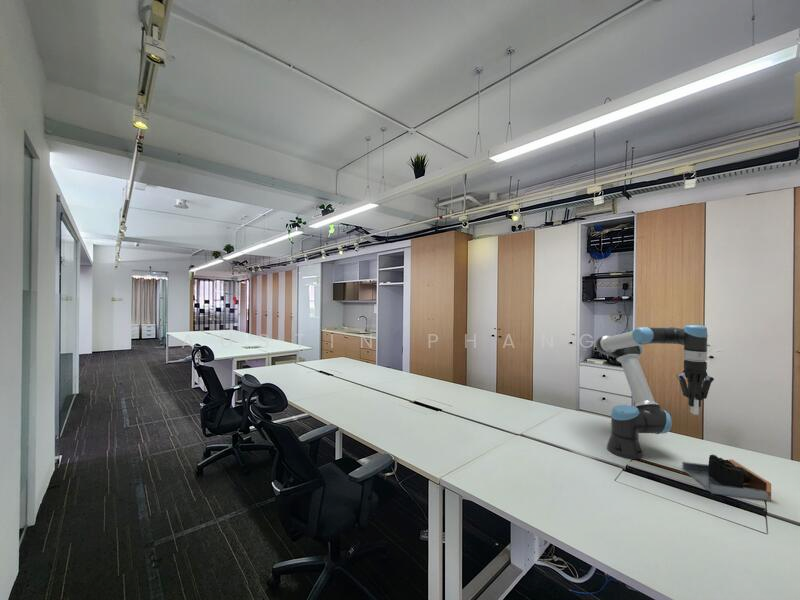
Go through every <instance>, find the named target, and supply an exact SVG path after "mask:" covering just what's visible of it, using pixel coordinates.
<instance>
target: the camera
mask: <svg viewBox="0 0 800 600" xmlns="http://www.w3.org/2000/svg"><path fill="white" fill-rule="evenodd" d="M708 465H709V472H708V474H709V476H711V477H712V478H714V479H715V480H717V481H718V482H720V483H721V484H723V485H727V486H735V487H743V483H748V482H749V481H750V477H749V474H748V472H747V471H746V470H745V469H744V468H742V467H737V466H735V465H734V464H732V463H731V462H730V461H729V459H724V458H722V457H718V456H717V455H716V454H710V455H709V457H708Z"/></svg>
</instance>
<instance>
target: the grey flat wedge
mask: <svg viewBox="0 0 800 600" xmlns="http://www.w3.org/2000/svg"><path fill="white" fill-rule="evenodd" d="M728 460H729V461H730V462H731V463H732V464H734V465H735V466H737V467H742V468H744V469H745V470H746V471H747V472H748V474H749V477H750V481H749V482H748V483H743V487H735V486H727V485H723V484H721V483H720V482H718V481H717V480H715V479H714V478H712V477H711V476H709V474H708V472H709V464H707V463H706V464H704V463H696V462H686V461H682V465H681V467H682V468H681V469H682V471H684V472H685V473H686V474H687V475H689V476H690V477H691V478H692V479H694V480H695V481H696V482H697V483H699V484H700V485H701V486H702V487H704V488H705V489H706V490H707V491H708V492H710V493H711V494H712V495H720V496H729V497H736V498H745V499H750V498H754V499H753V500H758V499H761V500H760V501H767V502H768V501H769V502H772V483H771V482H770V481H768V480H766V479H765V478H763V477H762V476H760V475H758V474H756V473H755V472H753V471H752V470H750V469H749V468H747V467H745V466H743V465H742V464H740V463H739V462H737V461H736V460H734V459H730V458H729V459H728Z"/></svg>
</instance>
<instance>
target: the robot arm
mask: <svg viewBox="0 0 800 600" xmlns="http://www.w3.org/2000/svg"><path fill="white" fill-rule="evenodd" d="M708 336H709V335H708V328H707V327H706V326H705V325H696V324H694V325H693V324H686V325H684V326H683V328H682V327H681V328H680V327H675V326H672V327H671V326H667V327H646V326H642V327H636V328H634V330H632V331H628V332H623V333H619V334H616V335H603V336H600V337H598V338H597V339H596V342H595V348H596V350H597V351H598V352H599V353H600V354H602V355H604V356H609V357H611V356H612V357H615V359H616V361H617V362H619V363H621V366H622V370H623V374H624V375H625V379H626V381H627V384H628V386H629V390H630V392H631V395H632V398H633V400H634V403H635V405H634V406H633V405H627V404H619V405H615V406H613V407H612V408H611V415H610V416H611V420H610V421H611V427H610V428H611V429H610V432H611V434H610V436H609V439H608V442H607V443H606V444H607V445H606V449H607V451H608V452H609V453H611V454H614V455H616V456H619V457H620V458H621V457H622V458H625V459H631V460H639V459H640V460H641V459H642V458H643V456H644V453H643V449H642V446H641V444H640V441H639V436H640V435H639V434H655V435H660V434H667V433H668V432H669V431H671V427H672V425H673V422H672V421H673V420H672V417H671V415H670V413H669V412H667V411H666V410H665V409H662V407H661V404H660V403H657V402H656V401H655V399H654V395H653V394H652V391H651V388H650V386H649V383H648V381H647V378H646V375H645V373H644V371H643V368H642V365H641V363H640V361H639V360H640V358H641V354H642V352H643V347H642V346H643V345H644V346H645V345H649V344H651V345H652V344H659V345H660V344H662V345H663V344H665V345H667V344H668V345H681V346H683V359H684V360H683V371H682V373H680V374H676V378H677V379H678V381H679V385H680V389H681V392H682V395H683V397H686V398H687V399H688V402H687V404H688V406H690V408H689V409H690V413H691V414H692V415H694V416H699V410H700V409H699V408H700V407H702V406H701V405H702V401H703V400H704V399H705V400H706V399H707V397H708V393H709V390H710V389H711V388H710V387H711V385H712V383H713V382H714V380H715V379H714V377H712V376H710V375H709V374H708V373H707V369H708V362H707V360H708ZM686 381H687V382H686Z"/></svg>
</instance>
